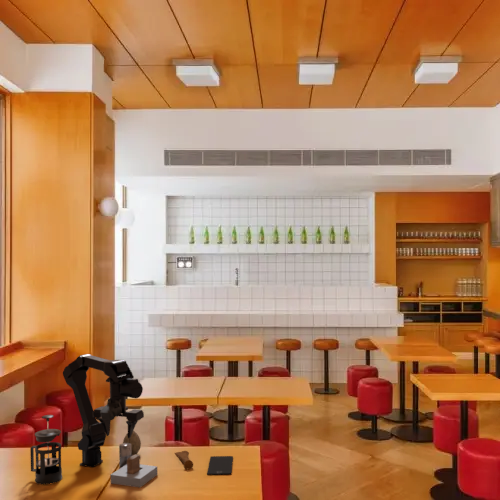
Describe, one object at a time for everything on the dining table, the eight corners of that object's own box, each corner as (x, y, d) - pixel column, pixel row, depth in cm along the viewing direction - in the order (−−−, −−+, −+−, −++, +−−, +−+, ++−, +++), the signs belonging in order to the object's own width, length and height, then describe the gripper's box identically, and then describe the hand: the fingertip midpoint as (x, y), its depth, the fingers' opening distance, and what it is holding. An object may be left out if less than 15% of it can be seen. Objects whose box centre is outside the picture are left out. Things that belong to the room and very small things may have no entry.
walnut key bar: (127, 481, 206) (127, 459, 206) (135, 476, 210) (134, 454, 210) (132, 482, 205) (131, 459, 205) (139, 477, 210) (139, 455, 210)
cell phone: (207, 476, 210) (206, 473, 210) (210, 458, 228) (210, 456, 228) (231, 475, 210) (231, 473, 210) (233, 458, 228) (233, 455, 228)
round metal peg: (117, 467, 220) (116, 446, 220) (123, 463, 224) (123, 442, 224) (127, 468, 218) (127, 447, 218) (133, 464, 222) (133, 443, 222)
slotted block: (110, 483, 204) (110, 474, 204) (129, 470, 216) (128, 462, 216) (140, 487, 200) (140, 478, 200) (157, 474, 212) (157, 466, 212)
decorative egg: (144, 454, 233) (144, 429, 233) (130, 459, 228) (130, 434, 228) (133, 450, 238) (132, 426, 238) (119, 455, 232) (118, 430, 232)
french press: (68, 474, 213) (67, 412, 213) (56, 485, 204) (55, 419, 204) (38, 473, 214) (37, 411, 214) (25, 484, 205) (24, 419, 205)
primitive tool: (174, 454, 234) (174, 445, 234) (187, 452, 236) (187, 443, 236) (184, 471, 216) (184, 461, 216) (198, 469, 218) (198, 459, 218)
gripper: (83, 398, 211) (84, 441, 211) (127, 402, 204) (128, 446, 204) (101, 391, 221) (102, 432, 221) (144, 394, 215) (144, 436, 215)
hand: (118, 436), depth 215 cm, fingers open, 9 cm apart
